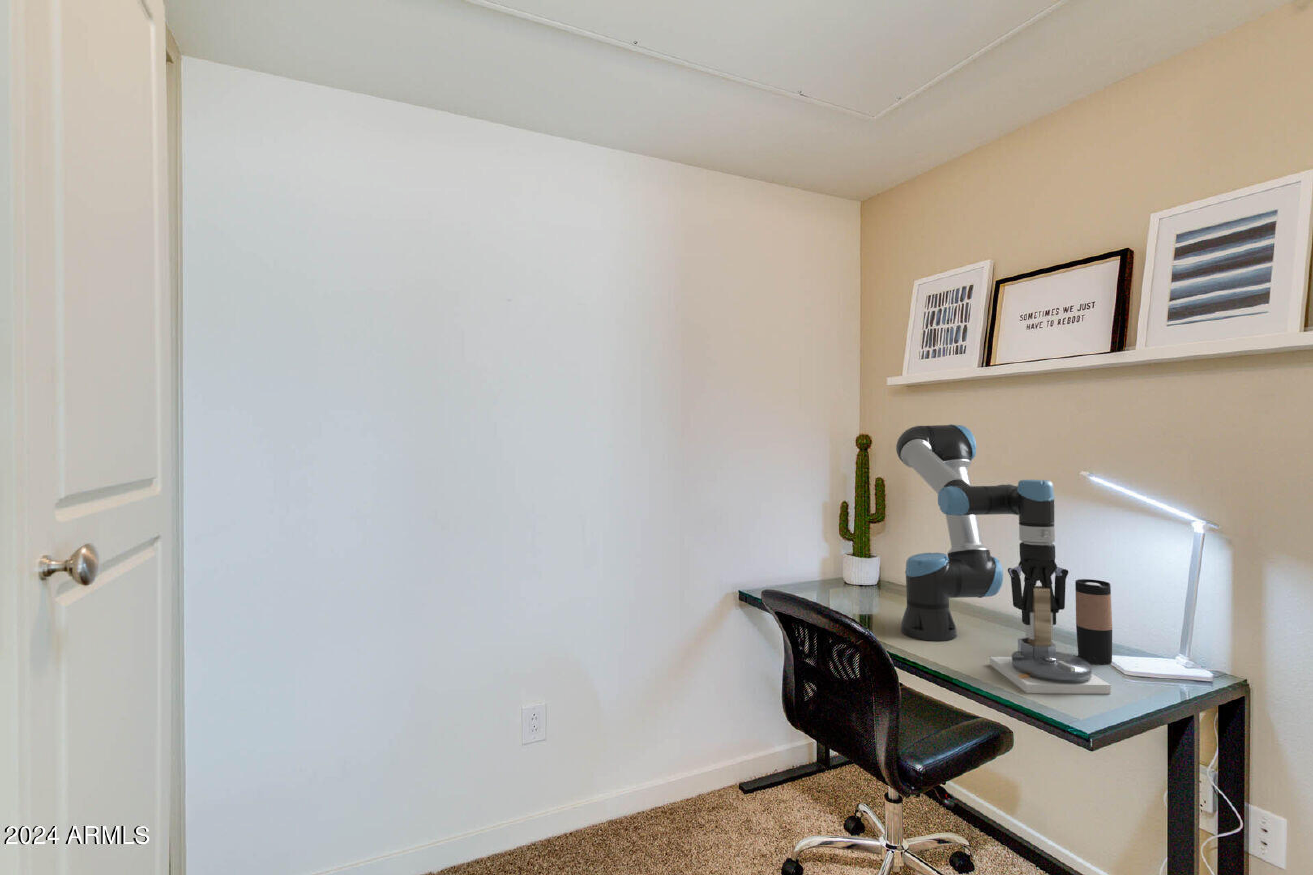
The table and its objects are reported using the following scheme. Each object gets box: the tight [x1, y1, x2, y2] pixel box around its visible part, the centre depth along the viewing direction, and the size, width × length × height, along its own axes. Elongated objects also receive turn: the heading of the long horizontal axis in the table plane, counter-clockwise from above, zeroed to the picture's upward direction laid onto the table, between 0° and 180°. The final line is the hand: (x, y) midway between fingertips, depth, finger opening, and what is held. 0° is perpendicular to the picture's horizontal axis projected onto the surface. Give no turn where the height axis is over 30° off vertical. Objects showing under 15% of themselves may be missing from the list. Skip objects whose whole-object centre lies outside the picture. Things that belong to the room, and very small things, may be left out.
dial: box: [1011, 636, 1093, 682], centre depth 147 cm, size 16×16×5 cm
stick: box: [1028, 585, 1052, 646], centre depth 151 cm, size 4×4×16 cm
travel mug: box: [1074, 578, 1113, 665], centre depth 159 cm, size 8×8×20 cm
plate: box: [989, 656, 1112, 695], centre depth 148 cm, size 18×18×2 cm
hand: (1039, 637), depth 151 cm, fingers closed on stick, 4 cm apart
